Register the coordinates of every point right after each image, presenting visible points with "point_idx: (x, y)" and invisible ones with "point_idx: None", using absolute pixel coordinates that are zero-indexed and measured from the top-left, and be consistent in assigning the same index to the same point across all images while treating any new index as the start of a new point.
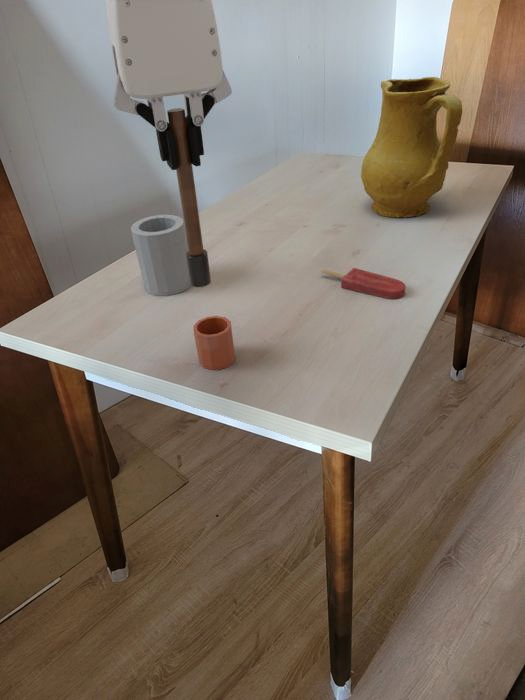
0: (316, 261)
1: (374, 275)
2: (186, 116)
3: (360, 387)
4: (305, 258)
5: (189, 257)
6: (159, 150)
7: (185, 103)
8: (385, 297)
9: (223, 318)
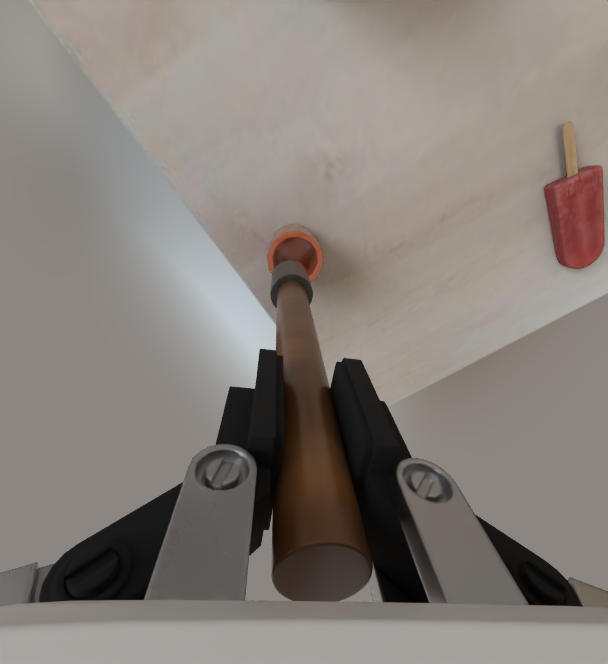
0: (604, 57)
1: (597, 210)
2: (383, 506)
3: (392, 374)
4: (603, 23)
5: (273, 304)
6: (227, 397)
7: (421, 554)
8: (556, 255)
9: (317, 251)
